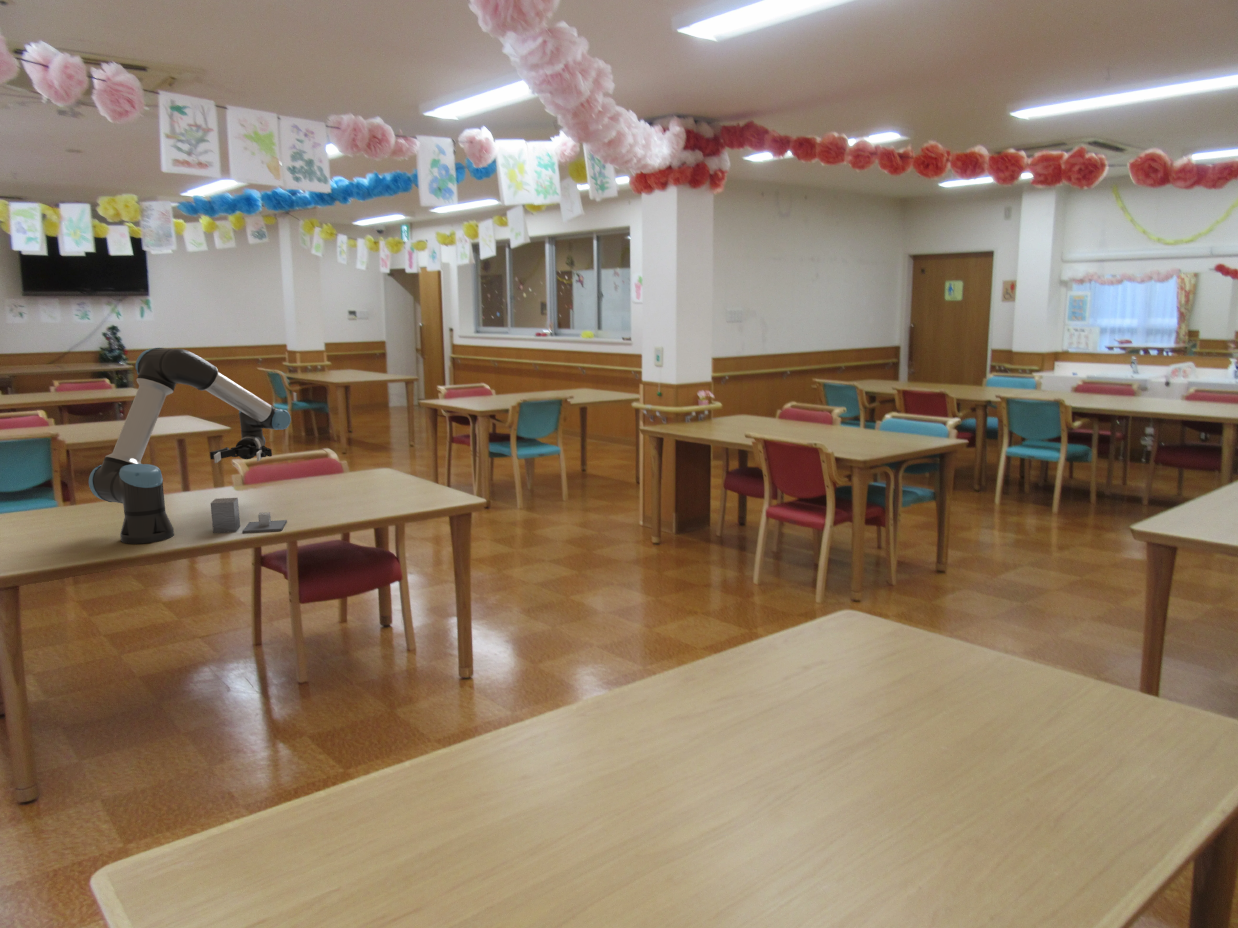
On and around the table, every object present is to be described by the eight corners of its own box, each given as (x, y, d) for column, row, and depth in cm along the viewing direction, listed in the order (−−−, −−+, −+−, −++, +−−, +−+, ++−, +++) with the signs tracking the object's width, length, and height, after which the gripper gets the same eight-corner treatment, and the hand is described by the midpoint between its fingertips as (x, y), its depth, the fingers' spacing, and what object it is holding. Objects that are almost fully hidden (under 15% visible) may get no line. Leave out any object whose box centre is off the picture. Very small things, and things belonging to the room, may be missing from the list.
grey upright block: (213, 533, 288) (210, 503, 286) (217, 527, 294) (215, 498, 293) (236, 531, 289) (233, 502, 287) (240, 526, 296) (237, 497, 294)
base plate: (242, 533, 287) (242, 530, 287) (249, 524, 299) (249, 521, 299) (281, 530, 290) (281, 528, 290) (286, 522, 301) (286, 519, 301)
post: (259, 526, 292) (258, 514, 292) (260, 524, 295) (259, 512, 295) (269, 526, 293) (268, 514, 292) (271, 523, 296) (270, 512, 295)
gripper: (284, 456, 326) (276, 466, 305) (212, 459, 320) (198, 470, 300) (283, 436, 324) (274, 445, 304) (210, 439, 319) (196, 449, 299)
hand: (236, 458), depth 302 cm, fingers open, 13 cm apart
